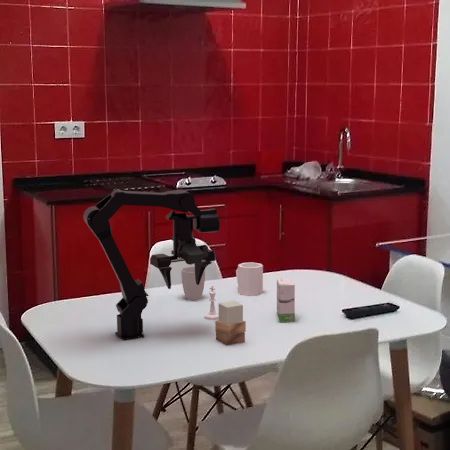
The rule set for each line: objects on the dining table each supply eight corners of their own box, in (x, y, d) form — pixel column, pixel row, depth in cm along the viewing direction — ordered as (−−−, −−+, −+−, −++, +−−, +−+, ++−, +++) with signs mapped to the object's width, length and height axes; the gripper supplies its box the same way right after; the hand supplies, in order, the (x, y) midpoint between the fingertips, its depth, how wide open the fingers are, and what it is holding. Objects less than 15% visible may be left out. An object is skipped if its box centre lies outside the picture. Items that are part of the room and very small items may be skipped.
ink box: (295, 322, 230) (295, 284, 228) (278, 322, 230) (279, 284, 228) (291, 313, 238) (292, 277, 236) (275, 314, 238) (276, 277, 236)
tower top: (229, 336, 209) (229, 325, 208) (215, 330, 213) (215, 320, 213) (245, 331, 213) (245, 321, 212) (231, 326, 217) (231, 316, 217)
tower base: (226, 346, 210) (226, 336, 209) (215, 340, 215) (215, 330, 214) (244, 342, 212) (244, 332, 212) (234, 336, 218) (234, 326, 217)
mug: (267, 293, 262) (267, 265, 260) (247, 297, 257) (247, 269, 255) (246, 286, 272) (247, 259, 270) (227, 289, 267) (227, 262, 265)
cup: (210, 297, 257) (210, 268, 256) (196, 303, 251) (196, 273, 249) (190, 293, 262) (190, 265, 260) (176, 299, 255) (176, 270, 253)
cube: (227, 325, 209) (226, 307, 208) (218, 320, 213) (218, 303, 212) (242, 322, 211) (242, 304, 210) (234, 317, 216) (234, 300, 215)
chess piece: (211, 314, 238) (211, 283, 237) (223, 317, 235) (223, 285, 233) (201, 317, 235) (201, 286, 233) (213, 320, 232) (213, 289, 230)
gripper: (165, 242, 207) (166, 297, 210) (225, 235, 216) (225, 288, 219) (148, 235, 216) (149, 288, 219) (206, 229, 225) (206, 280, 228)
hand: (183, 286), depth 221 cm, fingers open, 9 cm apart
